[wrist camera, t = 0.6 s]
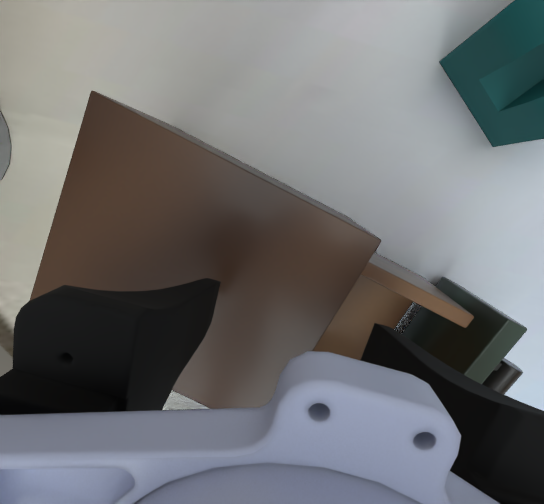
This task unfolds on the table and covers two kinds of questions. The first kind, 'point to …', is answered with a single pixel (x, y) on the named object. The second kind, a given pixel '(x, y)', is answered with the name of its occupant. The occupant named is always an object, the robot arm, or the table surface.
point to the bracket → (504, 74)
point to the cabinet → (202, 246)
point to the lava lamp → (4, 147)
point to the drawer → (427, 323)
